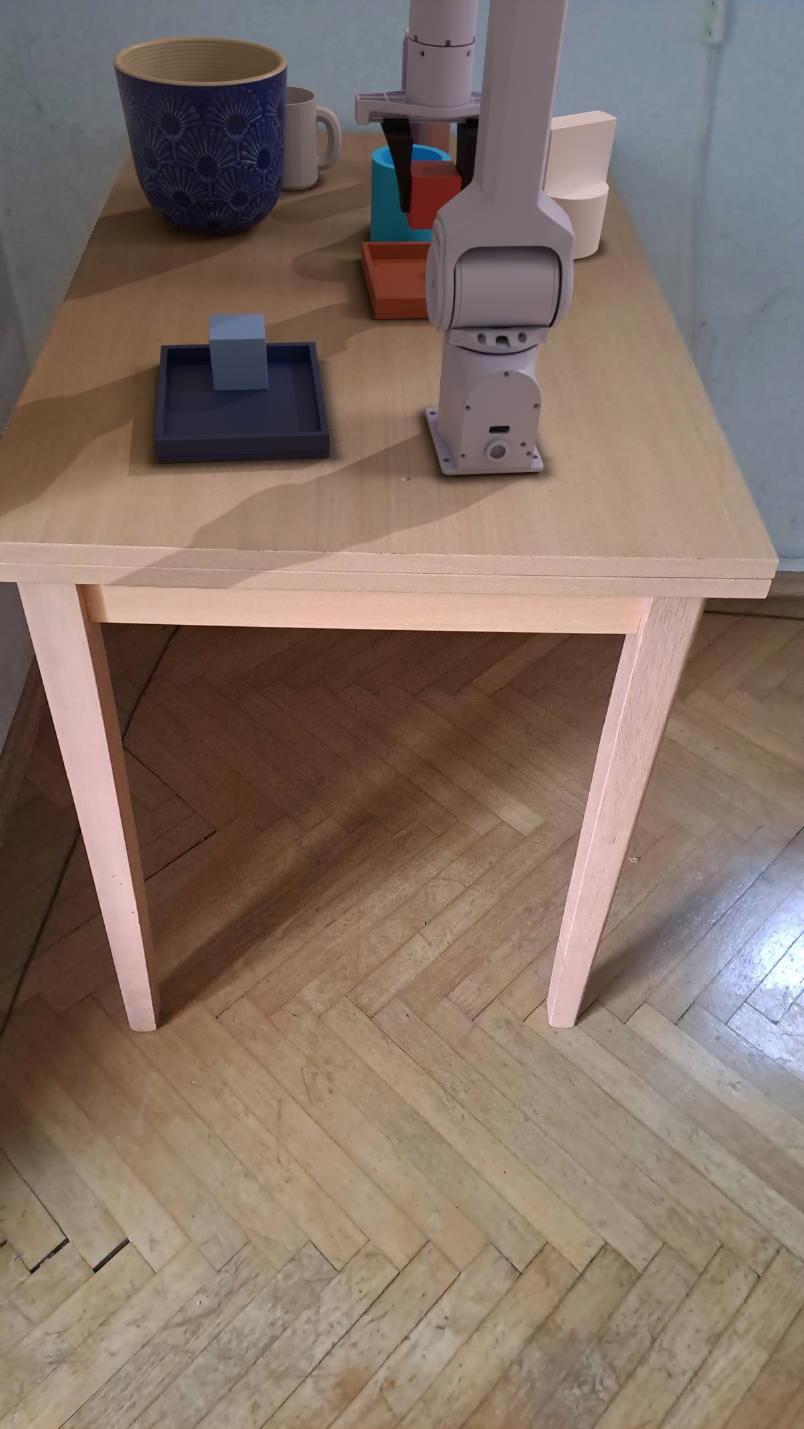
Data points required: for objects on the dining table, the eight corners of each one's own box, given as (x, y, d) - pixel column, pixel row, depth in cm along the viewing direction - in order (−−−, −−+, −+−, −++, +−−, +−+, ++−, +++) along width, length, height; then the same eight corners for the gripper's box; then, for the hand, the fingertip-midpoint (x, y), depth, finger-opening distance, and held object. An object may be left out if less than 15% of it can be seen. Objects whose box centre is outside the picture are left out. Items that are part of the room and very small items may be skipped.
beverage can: (391, 181, 119) (396, 34, 108) (406, 166, 123) (412, 22, 112) (439, 189, 118) (449, 40, 107) (452, 173, 122) (462, 28, 111)
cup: (259, 168, 120) (254, 84, 114) (341, 171, 121) (341, 87, 114) (255, 190, 115) (250, 103, 109) (341, 193, 116) (341, 106, 109)
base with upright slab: (563, 221, 113) (581, 101, 104) (615, 249, 108) (639, 127, 99) (499, 235, 109) (513, 112, 101) (550, 265, 104) (569, 139, 95)
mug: (442, 257, 104) (448, 174, 98) (365, 251, 105) (367, 167, 99) (449, 215, 113) (455, 135, 107) (378, 209, 113) (380, 129, 107)
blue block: (268, 389, 83) (265, 338, 80) (214, 391, 83) (208, 339, 79) (266, 363, 86) (263, 313, 83) (214, 365, 86) (208, 314, 82)
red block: (457, 229, 93) (461, 177, 90) (410, 229, 92) (412, 177, 89) (449, 211, 96) (453, 160, 93) (403, 211, 95) (405, 160, 92)
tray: (501, 316, 95) (503, 296, 94) (375, 319, 94) (376, 298, 92) (476, 260, 104) (477, 240, 103) (361, 261, 103) (361, 241, 101)
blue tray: (329, 457, 77) (329, 434, 76) (157, 463, 76) (154, 440, 74) (315, 363, 88) (315, 341, 86) (163, 366, 86) (160, 344, 85)
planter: (299, 195, 115) (294, 40, 104) (285, 255, 103) (278, 87, 92) (152, 188, 114) (131, 31, 103) (122, 247, 103) (95, 78, 92)
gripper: (515, 27, 87) (498, 192, 97) (351, 24, 85) (350, 192, 95) (533, 49, 82) (513, 220, 92) (360, 46, 81) (358, 221, 90)
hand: (431, 208), depth 93 cm, fingers closed on red block, 4 cm apart
